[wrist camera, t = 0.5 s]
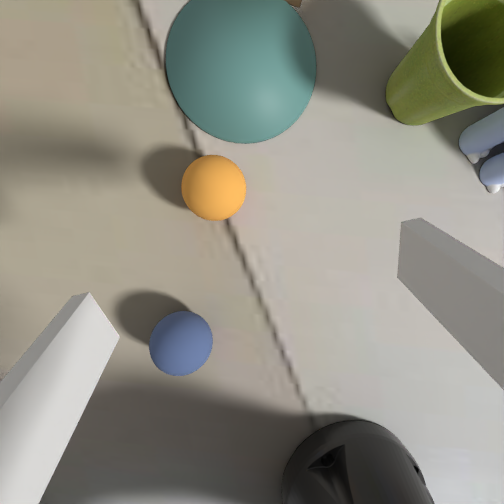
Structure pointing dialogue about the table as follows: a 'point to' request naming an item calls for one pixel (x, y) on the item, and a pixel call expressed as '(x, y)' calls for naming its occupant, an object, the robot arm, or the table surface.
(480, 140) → the hippopotamus toy
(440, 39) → the plant pot
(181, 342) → the blue ball
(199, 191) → the orange ball
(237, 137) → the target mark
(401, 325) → the table surface
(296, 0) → the rail
